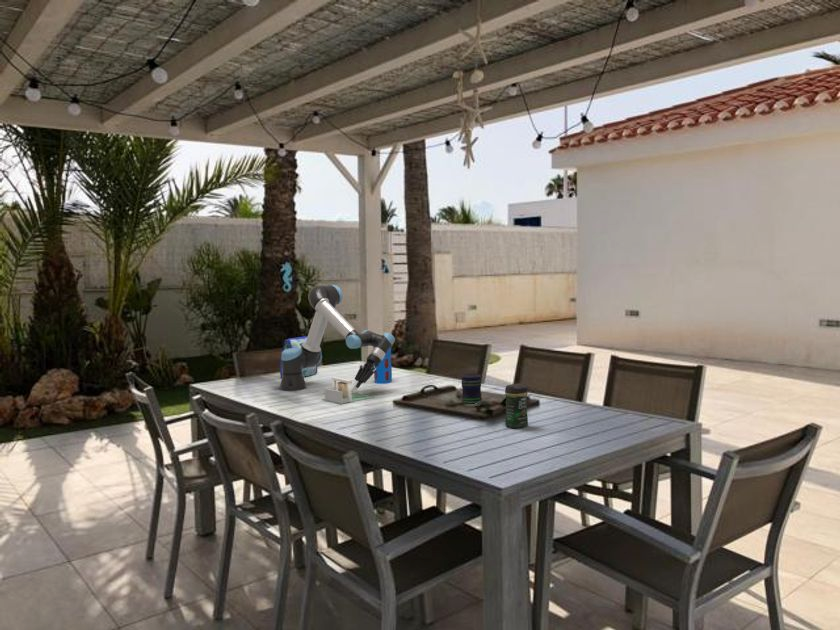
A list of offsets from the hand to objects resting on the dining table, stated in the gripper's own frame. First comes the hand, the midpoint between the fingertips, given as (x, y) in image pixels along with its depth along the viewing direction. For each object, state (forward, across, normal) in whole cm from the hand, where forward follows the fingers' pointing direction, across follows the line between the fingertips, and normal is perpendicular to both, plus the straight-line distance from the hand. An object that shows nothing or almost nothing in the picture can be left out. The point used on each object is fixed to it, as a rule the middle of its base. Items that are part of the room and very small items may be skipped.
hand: (352, 391), depth 361 cm
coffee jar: (-6, -104, -12) cm, 105 cm away
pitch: (+4, +3, -2) cm, 5 cm away
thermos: (-27, +28, -34) cm, 52 cm away
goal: (+8, +1, +4) cm, 9 cm away
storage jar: (-19, -59, -25) cm, 67 cm away
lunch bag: (-11, +87, -18) cm, 90 cm away
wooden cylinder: (+6, 0, +1) cm, 6 cm away
